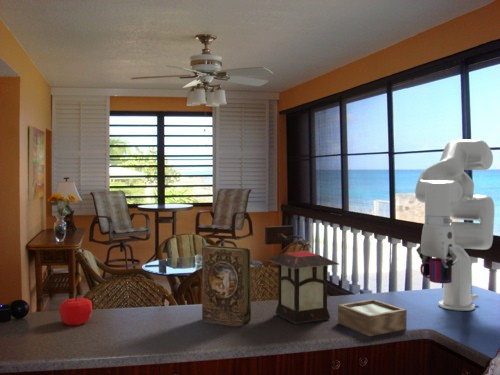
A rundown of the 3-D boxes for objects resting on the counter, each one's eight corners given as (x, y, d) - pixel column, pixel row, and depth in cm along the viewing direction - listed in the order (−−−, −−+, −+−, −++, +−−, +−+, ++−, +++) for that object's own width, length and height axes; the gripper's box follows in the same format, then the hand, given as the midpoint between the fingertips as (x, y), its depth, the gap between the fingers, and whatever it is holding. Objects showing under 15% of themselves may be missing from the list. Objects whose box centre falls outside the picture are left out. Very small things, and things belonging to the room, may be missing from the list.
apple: (96, 324, 170) (95, 294, 170) (62, 329, 165) (61, 298, 165) (89, 316, 179) (88, 288, 179) (56, 321, 174) (56, 291, 174)
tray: (373, 316, 179) (373, 299, 179) (406, 329, 165) (406, 309, 165) (338, 323, 171) (338, 304, 171) (369, 336, 158) (369, 316, 158)
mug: (455, 283, 160) (455, 261, 160) (423, 284, 160) (424, 262, 159) (446, 278, 167) (446, 257, 166) (415, 279, 166) (415, 258, 166)
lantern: (300, 303, 198) (300, 225, 196) (339, 320, 174) (340, 232, 173) (256, 308, 190) (256, 227, 189) (292, 328, 166) (292, 235, 165)
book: (199, 321, 174) (199, 247, 173) (207, 316, 179) (207, 245, 178) (243, 327, 167) (243, 250, 166) (250, 322, 172) (250, 248, 171)
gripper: (468, 223, 156) (468, 281, 157) (424, 218, 171) (423, 271, 172) (451, 224, 152) (451, 284, 153) (407, 219, 167) (407, 273, 168)
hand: (436, 277), depth 162 cm, fingers closed on mug, 6 cm apart
